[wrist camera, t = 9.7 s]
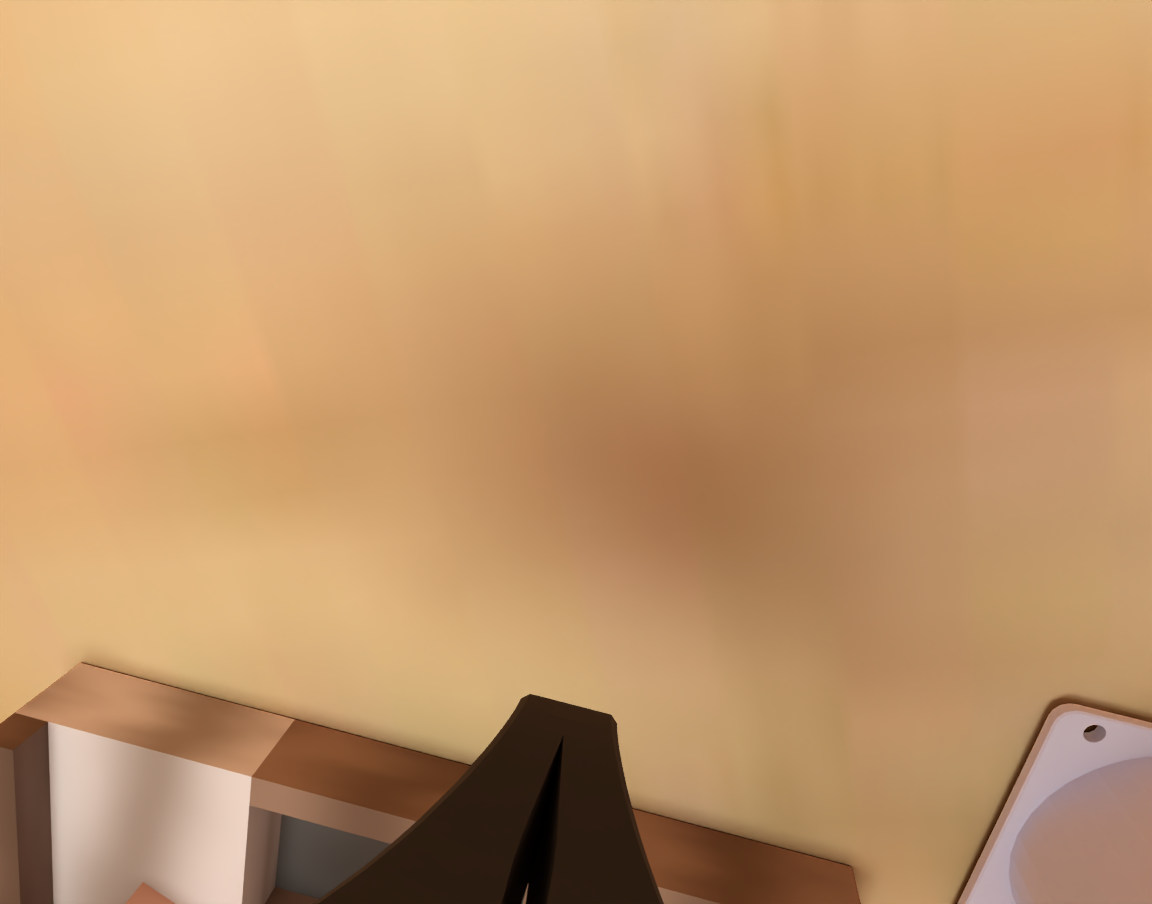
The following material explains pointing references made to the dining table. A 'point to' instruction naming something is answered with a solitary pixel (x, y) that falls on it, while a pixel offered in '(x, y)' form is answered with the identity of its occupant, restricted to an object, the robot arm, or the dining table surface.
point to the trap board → (270, 807)
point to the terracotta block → (148, 896)
